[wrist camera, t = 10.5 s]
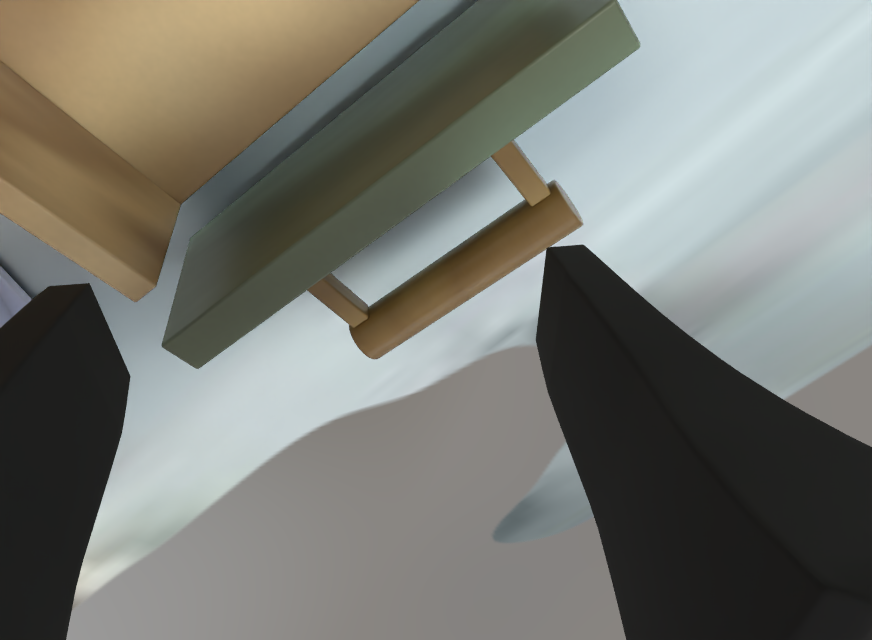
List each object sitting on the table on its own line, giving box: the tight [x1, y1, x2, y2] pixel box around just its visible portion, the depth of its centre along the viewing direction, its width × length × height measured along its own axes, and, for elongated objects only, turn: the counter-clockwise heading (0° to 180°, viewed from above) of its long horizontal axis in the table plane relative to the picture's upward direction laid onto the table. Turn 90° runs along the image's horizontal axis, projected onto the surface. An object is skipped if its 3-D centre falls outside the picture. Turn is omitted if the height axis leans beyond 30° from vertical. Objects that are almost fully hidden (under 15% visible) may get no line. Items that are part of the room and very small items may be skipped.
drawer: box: [0, 0, 640, 369], centre depth 15 cm, size 16×13×5 cm
